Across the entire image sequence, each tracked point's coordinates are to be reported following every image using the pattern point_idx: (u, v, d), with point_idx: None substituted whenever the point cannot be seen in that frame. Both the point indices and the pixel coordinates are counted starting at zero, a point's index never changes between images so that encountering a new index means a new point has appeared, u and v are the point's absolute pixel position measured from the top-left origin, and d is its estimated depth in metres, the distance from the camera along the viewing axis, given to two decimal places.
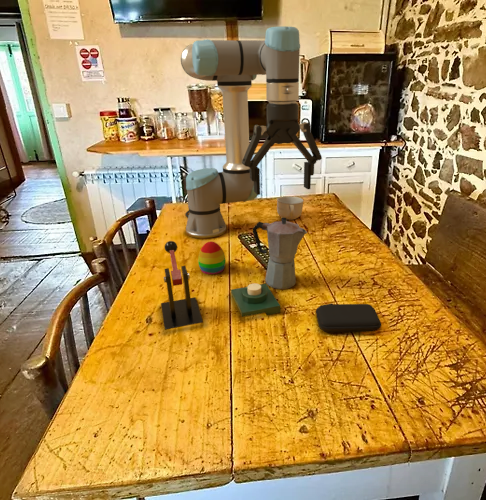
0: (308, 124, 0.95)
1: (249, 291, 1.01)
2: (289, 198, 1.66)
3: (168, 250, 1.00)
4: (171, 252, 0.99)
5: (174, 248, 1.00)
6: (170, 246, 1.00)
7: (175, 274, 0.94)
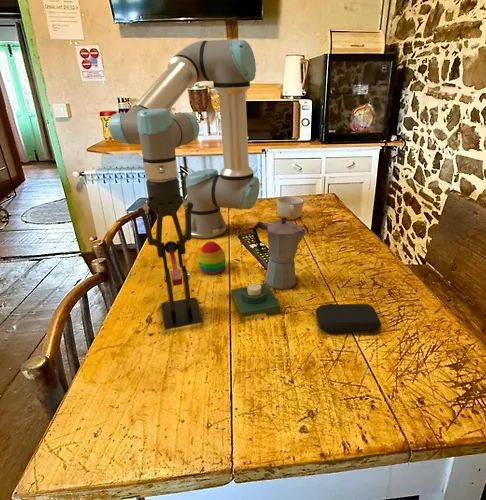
0: (191, 204, 0.97)
1: (249, 291, 1.01)
2: (289, 198, 1.66)
3: (168, 250, 1.00)
4: (171, 252, 0.99)
5: (174, 248, 1.00)
6: (170, 246, 1.00)
7: (175, 274, 0.94)
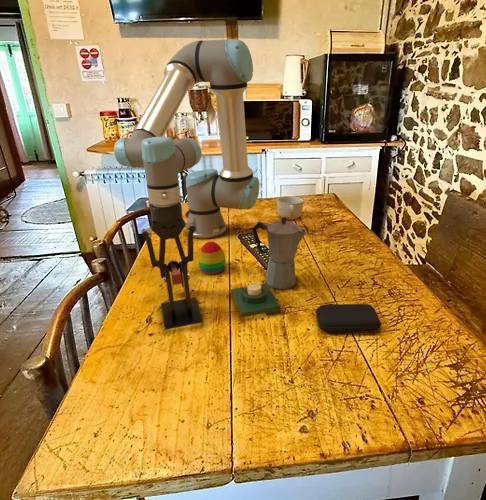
0: (193, 227, 1.00)
1: (249, 291, 1.01)
2: (289, 198, 1.66)
3: (170, 267, 1.03)
4: (173, 267, 1.02)
5: (176, 264, 1.03)
6: (172, 262, 1.03)
7: (175, 273, 0.95)
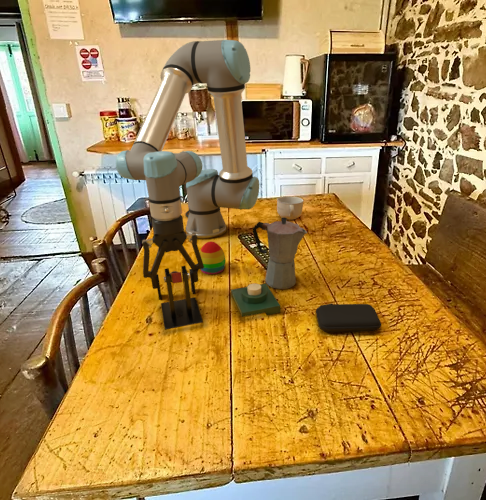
0: (195, 236, 1.01)
1: (249, 291, 1.01)
2: (289, 198, 1.66)
3: (171, 276, 1.03)
4: None
5: None
6: (173, 272, 1.04)
7: None
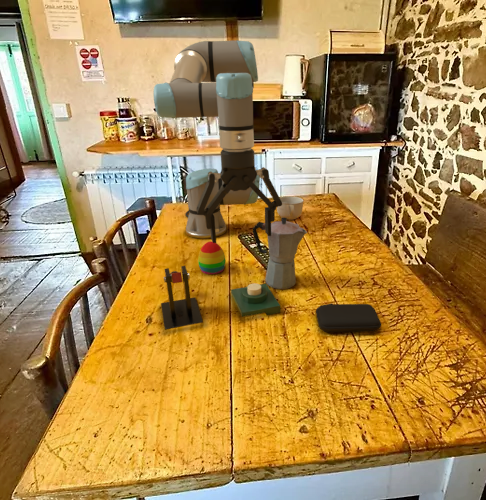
0: (266, 170, 0.90)
1: (249, 291, 1.01)
2: (289, 198, 1.66)
3: (171, 276, 1.03)
4: None
5: None
6: (173, 272, 1.04)
7: None
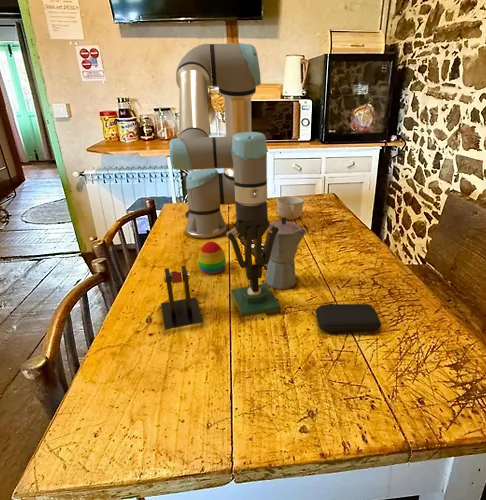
0: (277, 229, 0.96)
1: (249, 294, 1.01)
2: (289, 198, 1.66)
3: (171, 276, 1.03)
4: None
5: None
6: (173, 272, 1.04)
7: None
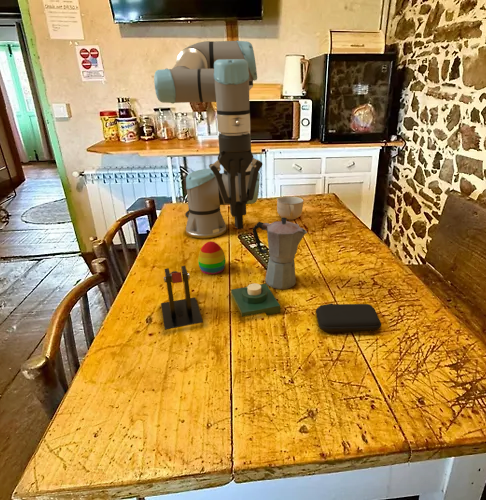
0: (260, 163, 0.95)
1: (249, 291, 1.01)
2: (289, 198, 1.66)
3: (171, 276, 1.03)
4: None
5: None
6: (173, 272, 1.04)
7: None
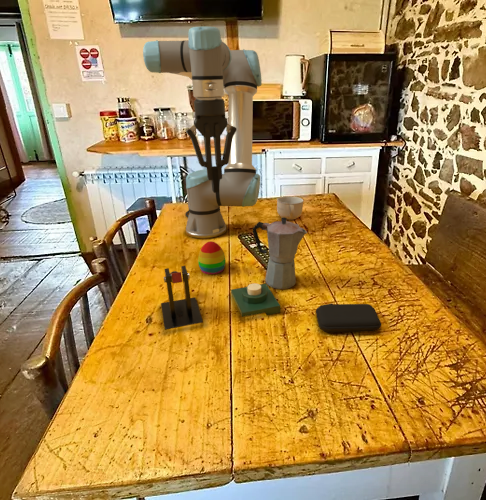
0: (234, 128, 1.01)
1: (249, 291, 1.01)
2: (289, 198, 1.66)
3: (171, 276, 1.03)
4: None
5: None
6: (173, 272, 1.04)
7: None
